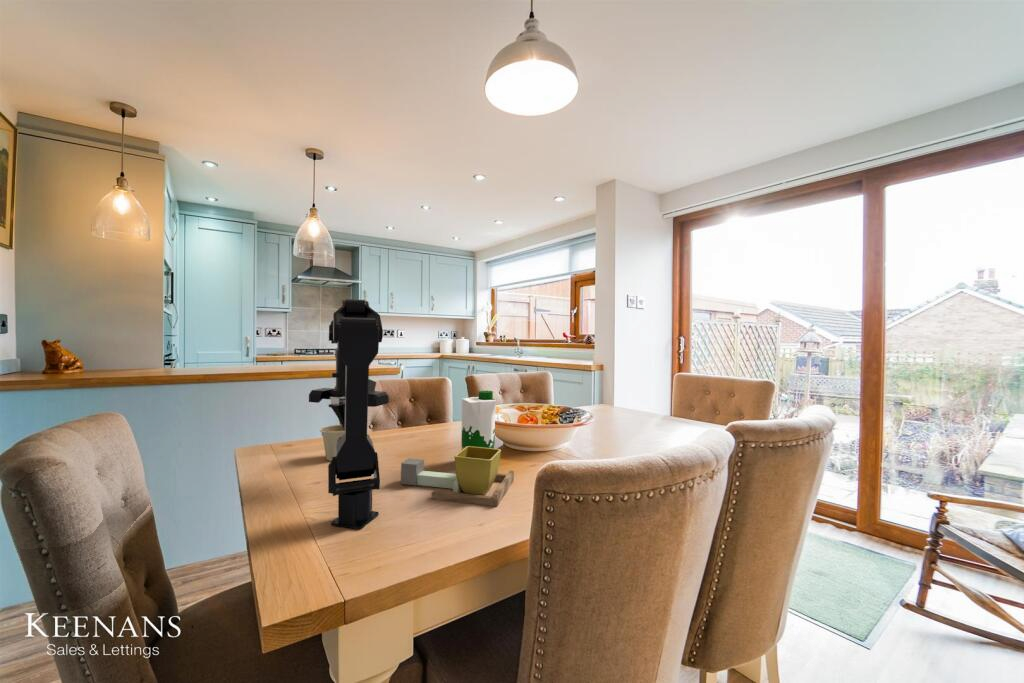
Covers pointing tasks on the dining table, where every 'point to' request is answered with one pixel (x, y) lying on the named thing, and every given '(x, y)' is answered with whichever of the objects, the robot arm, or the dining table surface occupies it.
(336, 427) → the flower pot
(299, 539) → the dining table surface
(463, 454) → the flower pot
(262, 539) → the dining table surface
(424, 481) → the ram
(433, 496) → the bay
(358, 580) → the dining table surface
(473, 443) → the milk carton
